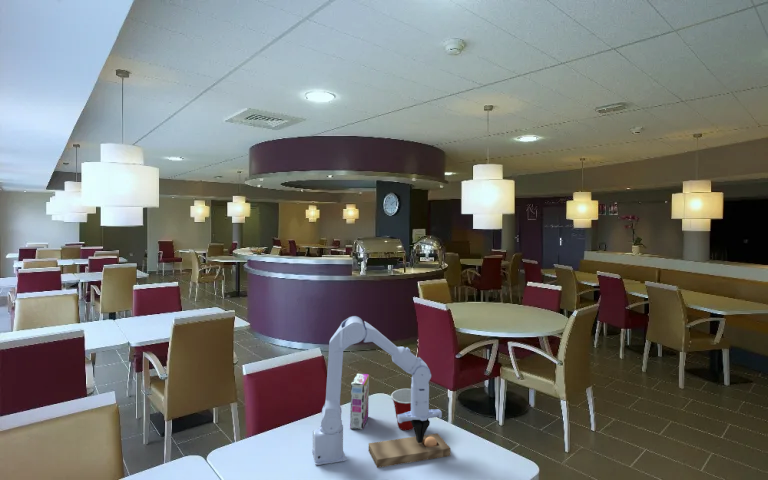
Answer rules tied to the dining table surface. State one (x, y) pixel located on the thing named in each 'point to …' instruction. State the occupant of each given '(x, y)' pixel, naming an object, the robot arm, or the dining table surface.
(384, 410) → the dining table surface
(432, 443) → the ball
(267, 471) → the dining table surface
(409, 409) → the plastic cup
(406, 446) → the deck
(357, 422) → the candy bar box
